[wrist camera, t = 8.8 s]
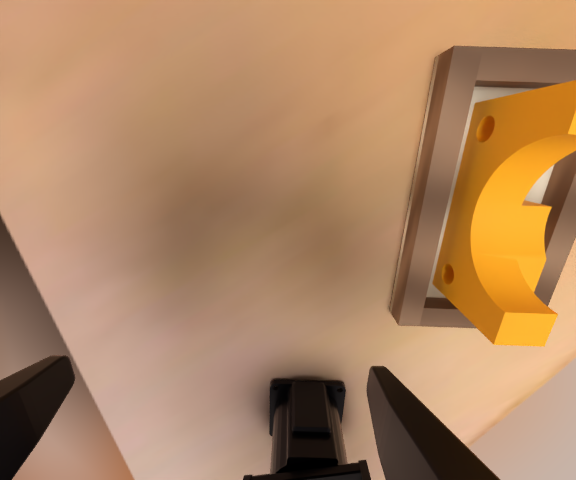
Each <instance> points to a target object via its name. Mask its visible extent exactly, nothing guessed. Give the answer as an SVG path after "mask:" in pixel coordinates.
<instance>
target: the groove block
mask: <svg viewBox="0 0 576 480" xmlns="http://www.w3.org/2000/svg"><path fill="white" fill-rule="evenodd" d="M574 80H576V50H568V49H537V48H506V47H476V46H453V47H451V48H450V49H448V50H447V51H445V52H443V53H442V54H440V55H438V56H437V57H436V58H435V63H434V68H433V74H432V79H431V85H430V90H429V96H428V101H427V107H426V112H425V118H424V123H423V129H422V134H421V140H420V145H419V151H418V156H417V162H416V167H415V173H414V178H413V184H412V189H411V195H410V200H409V206H408V211H407V217H406V222H405V228H404V233H403V239H402V244H401V250H400V255H399V261H398V266H397V272H396V277H395V283H394V288H393V294H392V299H391V305H390V312H391V314H392V315H393V317H394V319H395V320H396V322H397V324H398V325H400V326H429V327H458V328H476V327H475V326H474V325H473V324H472V323H471V322H470V321H469V320H468V319H467V318H466V317H465V316H464V315H463V314H462V313H461V312H460V311H459V310H458V309H457V308H456V307H455V306H454V305H453V304H452V303H451V302H450V301H449V300H448V299H447V298H446V297H445V296H444V295H443V294H442V293H441V292H440V291H439V290H438V289H437V288H436V287H435V286H434V285H433V284H432V283H433V278H434V274H435V270H436V266H437V261H438V257H439V253H440V249H441V244H442V240H443V236H444V232H445V227H446V223H447V219H448V215H449V211H450V206H451V202H452V198H453V194H454V189H455V185H456V181H457V177H458V172H459V168H460V164H461V160H462V155H463V151H464V147H465V143H466V139H467V134H468V130H469V126H470V122H471V117H472V113H473V109H474V105H475V103H477V102H481V101H486V100H490V99H495V98H499V97H503V96H508V95H512V94H517V93H521V92H525V91H530V90H534V89H539V88H543V87H547V86H552V85H556V84H561V83H565V82H569V81H574ZM524 200H526V201H530V202H534V203H539V204H543V205H547V206H551V207H552V208H551V210H550V213H549V215H548V218H547V222H546V226H545V233H544V247H545V254H546V262H545V265H544V267H543V270H542V273H541V275H540V278H539V280H538V283H537V286H536V288H535V291H534V294H535V295H536V296H537V297H538V298H539V299H540V300H541V301H542V302H543V303H544V304H545V305H546V306H547V307H548V304H549V302H550V299H551V297H552V294H553V292H554V289H555V287H556V285H557V282H558V280H559V277H560V275H561V272H562V270H563V267H564V265H565V262H566V260H567V257H568V255H569V253H570V250H571V248H572V245H573V243H574V240H575V238H576V151H574V152H573V153H571V154H569V155H567V156H565V157H564V158H562V159H561V160H559V161H558V162H557V163H555V164H554V165H553V166H551V167H550V168H549V169H548V170H547V171H546V172H545V173H544V174H543V175H542V176H541V177H540V178H539V179H538V180H537V181H536V183H535V184H534V185H533V186H532V188H531V189H530V191H529V192H528V194H527V196H526V197H525V199H524Z"/></svg>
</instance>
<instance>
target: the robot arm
mask: <svg viewBox="0 0 576 480" xmlns="http://www.w3.org/2000/svg"><path fill="white" fill-rule="evenodd" d="M74 381H75V374H74V371H73V368H72V364H71V361H70V358H69V357H68V356H65V355H52V356H49V357H48V358H45V359H43V360H41V361H39V362H37V363H35V364H33V365H31V366H29V367H27V368H25V369H23V370H20V371H18V372H16V373H14V374H12V375H10V376H8V377H6V378H4V379H2V380H0V480H12V479H13V477H14V476H15V474H16V473H17V472H18V470H19V469H20V467H21V466H22V465H23V463H24V462H25V460H26V459H27V457H28V456H29V455H30V453H31V452H32V451H33V449H34V448H35V446H36V445H37V443H38V442H39V440H40V439H41V437H42V436H43V434H44V432H45V431H46V429H47V427H48V426H49V424H50V423H51V421H52V419H53V418H54V416H55V414H56V413H57V411H58V409H59V408H60V406H61V404H62V403H63V401H64V399H65V398H66V396H67V394H68V393H69V391H70V389H71V388H72V386H73V384H74ZM345 392H346V389H345V385H344V383H342V382H328V381H300V380H273V381H272V382H271V384H270V435H271V436H273V438H272V453H271V469H270V474H264V475H257V476H252V475H244V478H243V480H371V477H370V473H369V470H368V466H367V462H366V460H361V461H359V462H358V463H351V464H348V463H347V457H346V452H345V446H344V440H343V434H342V429H341V422H342V414H343V407H344V400H345ZM367 397H368V403H369V408H370V413H371V418H372V424H373V429H374V434H375V439H376V444H377V449H378V454H379V458H380V461H381V465H382V468H383V472H384V475H385V479H386V480H500V479H499V478H498V477H497V476H496V475H495V474H494V473H493V472H492V471H491V470H490V469H489V468H488V467H487V466H486V465H485V464H484V463H483V462H482V461H481V460H480V459H479V458H478V457H477V456H476V455H475V454H474V453H473V452H472V451H470V449H469V448H468V447H467V446H466V445H465V444H464V443H462V442H461V441H460V440H459V439H458V438H457V437H456V436H455V435H454V434H453V433H452V432H451V431H450V430H449V429H448V428H447V427H446V426H445V425H444V424H443V423H442V422H441V421H440V420H439V419H438V418H437V417H436V416H435V415H434V414H433V413H432V412H431V411H430V410H429V409H428V408H427V407H426V406H425V405H424V404H423V403H422V402H421V401H420V400H419V399H418V398H417V397H416V396H415V395H414V394H413V393H412V392H411V391H410V390H409V389H407V388H406V387H405V386H404V385H403V384H402V383H401V382H400V381H399V380H398V379H397V378H396V377H395V376H394V375H393V374H392V373H391V372H390V371H389V370H388V369H387V368H386V367H384V366H372V367H371V368H370V370H369V376H368V382H367Z"/></svg>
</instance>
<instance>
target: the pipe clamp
mask: <svg viewBox="0 0 576 480" xmlns="http://www.w3.org/2000/svg"><path fill="white" fill-rule="evenodd" d="M574 151H576V80H574V81H569V82H565V83H561V84H556V85H552V86H547V87H543V88H539V89H534V90H530V91H525V92H521V93H517V94H512V95H508V96H503V97H499V98H495V99H490V100H486V101H481V102H477V103H475V105H474V109H473V113H472V117H471V122H470V126H469V130H468V134H467V139H466V143H465V147H464V151H463V155H462V160H461V164H460V168H459V172H458V177H457V181H456V185H455V189H454V194H453V198H452V202H451V206H450V211H449V215H448V219H447V223H446V227H445V232H444V236H443V240H442V244H441V249H440V253H439V257H438V261H437V266H436V270H435V274H434V278H433V283H432V284H433V285H434V286H435V287H436V288H437V289H438V290H439V291H440V292H441V293H442V294H443V295H444V296H445V297H446V298H447V299H448V300H449V301H450V302H451V303H452V304H453V305H454V306H455V307H456V308H457V309H458V310H459V311H460V312H461V313H462V314H463V315H464V316H465V317H466V318H467V319H468V320H469V321H470V322H471V323H472V324H473V325H474V326H475V327H476V328H477V329H478V330H479V331H481V332H482V333H483V334H484V335H485V336H486V337H487V338H488V339H489V340H490V341H491V342H492V343H493V344H494V345H518V346H545V343H546V341H547V339H548V336H549V334H550V332H551V329H552V327H553V325H554V322H555V320H556V318H557V315H558V314H557V313H555V312H554V311H553V310H551V309H550V308H549V307H547V306H546V305H545V304H544V303H543V302H542V301H541V300H540V299H539V298H538V297H537V296H536V295H535V294H534V291H535V288H536V286H537V283H538V280H539V278H540V275H541V273H542V270H543V267H544V265H545V262H546V254H545V247H544V233H545V226H546V222H547V218H548V215H549V213H550V210H551V208H552V207H551V206H547V205H543V204H539V203H534V202H530V201H526V200H524V199H525V197H526V196H527V194H528V192H529V191H530V189H531V188H532V186H533V185H534V184H535V183H536V181H537V180H538V179H539V178H540V177H541V176H542V175H543V174H544V173H545V172H546V171H547V170H548V169H549V168H550V167H551V166H553V165H554V164H555V163H557V162H558V161H559V160H561V159H562V158H564V157H565V156H567V155H569V154H571V153H573V152H574Z"/></svg>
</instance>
